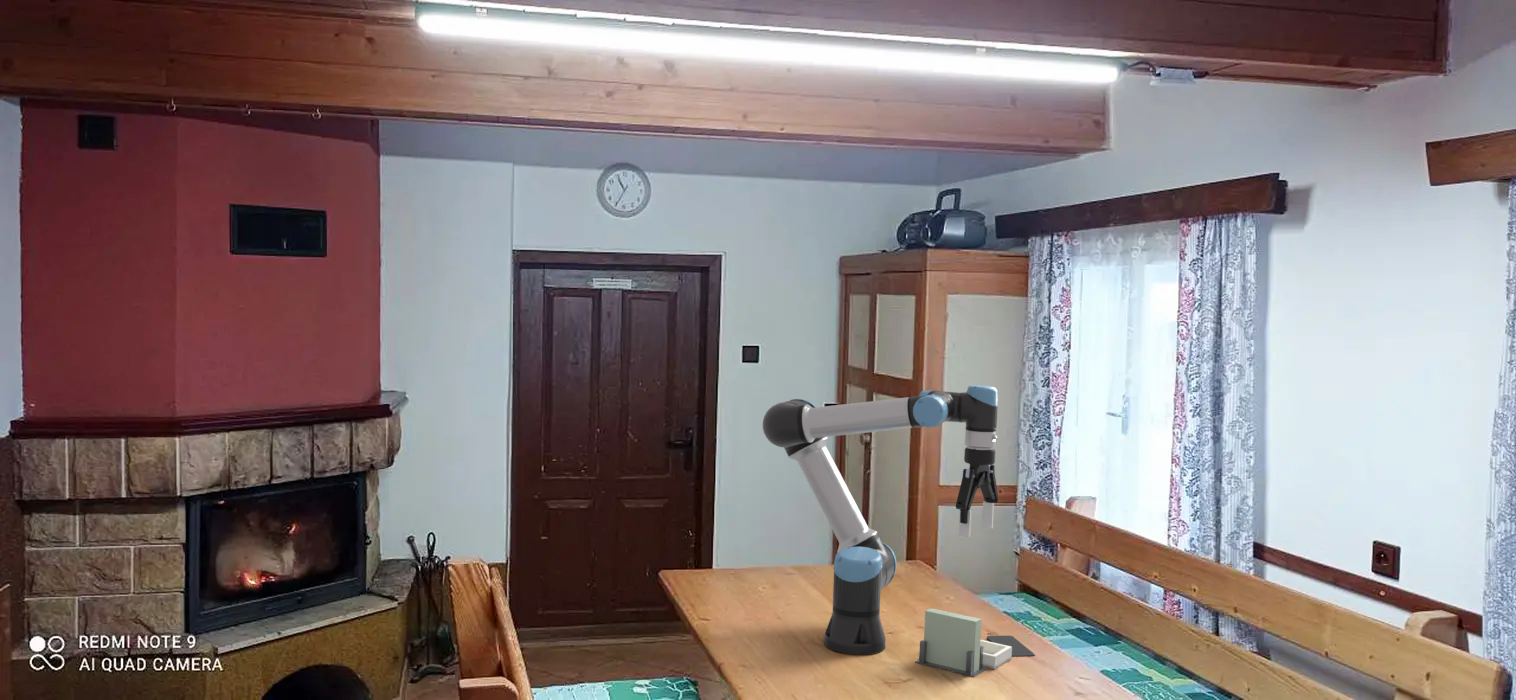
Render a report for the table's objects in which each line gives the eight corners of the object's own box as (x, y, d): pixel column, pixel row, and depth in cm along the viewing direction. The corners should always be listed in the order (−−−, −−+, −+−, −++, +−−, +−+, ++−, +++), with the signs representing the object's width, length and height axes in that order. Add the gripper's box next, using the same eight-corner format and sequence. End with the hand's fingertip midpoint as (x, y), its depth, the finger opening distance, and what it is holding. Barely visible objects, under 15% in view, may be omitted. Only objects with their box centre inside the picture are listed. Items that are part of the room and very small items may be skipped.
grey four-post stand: (915, 662, 260) (916, 640, 260) (928, 655, 266) (929, 633, 266) (973, 677, 252) (974, 654, 252) (986, 669, 258) (987, 647, 257)
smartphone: (1008, 655, 268) (985, 635, 282) (1008, 659, 268) (985, 638, 282) (1036, 654, 269) (1012, 635, 284) (1036, 658, 269) (1012, 638, 284)
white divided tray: (925, 652, 268) (926, 640, 268) (943, 643, 276) (944, 631, 276) (994, 669, 258) (995, 656, 258) (1011, 658, 266) (1011, 646, 266)
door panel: (981, 668, 257) (983, 617, 257) (973, 673, 254) (976, 621, 253) (931, 656, 265) (933, 607, 264) (923, 660, 261) (925, 610, 261)
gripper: (973, 453, 261) (968, 542, 262) (1013, 444, 281) (1009, 527, 282) (944, 450, 265) (940, 537, 266) (986, 441, 286) (982, 522, 287)
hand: (976, 532), depth 274 cm, fingers open, 13 cm apart
